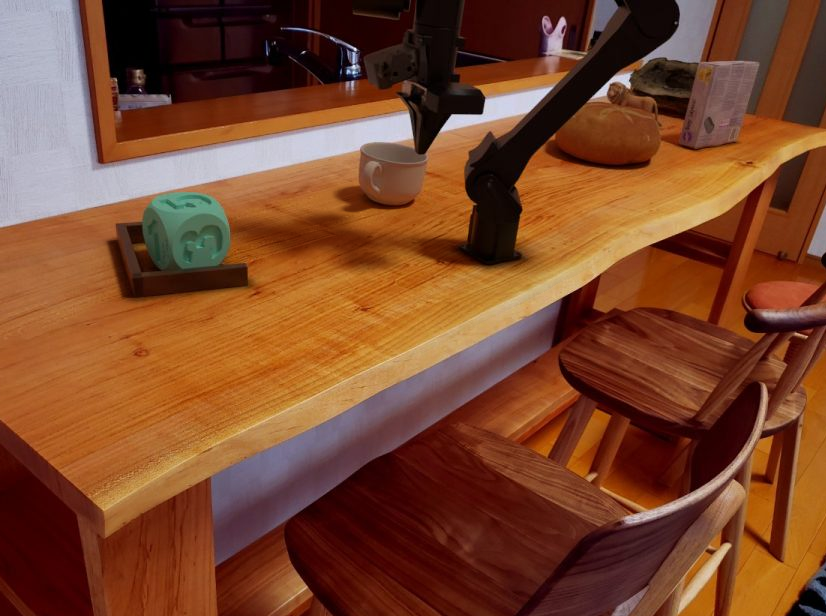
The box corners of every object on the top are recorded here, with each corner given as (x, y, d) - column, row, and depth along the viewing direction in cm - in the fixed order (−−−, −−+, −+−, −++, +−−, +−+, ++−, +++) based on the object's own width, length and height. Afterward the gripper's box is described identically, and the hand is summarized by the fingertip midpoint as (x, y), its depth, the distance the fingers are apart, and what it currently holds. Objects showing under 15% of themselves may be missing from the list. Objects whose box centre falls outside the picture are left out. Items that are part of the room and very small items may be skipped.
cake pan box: (721, 136, 178) (744, 57, 169) (740, 141, 175) (765, 61, 166) (675, 145, 168) (697, 61, 158) (694, 150, 164) (718, 65, 155)
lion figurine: (598, 120, 184) (607, 81, 180) (604, 116, 188) (612, 78, 184) (659, 130, 179) (669, 91, 174) (663, 126, 183) (673, 88, 178)
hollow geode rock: (721, 143, 192) (755, 97, 192) (714, 111, 182) (750, 62, 183) (629, 115, 210) (661, 73, 210) (618, 85, 200) (651, 40, 200)
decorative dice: (144, 258, 95) (138, 197, 91) (202, 246, 99) (199, 187, 95) (173, 281, 90) (167, 217, 86) (232, 267, 94) (230, 206, 90)
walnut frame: (217, 233, 104) (216, 216, 103) (248, 285, 90) (247, 266, 89) (117, 241, 99) (115, 223, 98) (134, 297, 85) (131, 277, 84)
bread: (686, 168, 151) (701, 117, 146) (590, 173, 143) (601, 120, 138) (617, 138, 169) (627, 92, 164) (528, 141, 161) (536, 93, 156)
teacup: (385, 184, 128) (389, 137, 124) (437, 201, 122) (442, 152, 118) (330, 201, 118) (331, 151, 114) (383, 220, 113) (386, 168, 109)
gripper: (347, 9, 94) (338, 134, 102) (408, 34, 80) (392, 177, 88) (426, 14, 98) (411, 134, 106) (498, 39, 84) (474, 176, 92)
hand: (420, 153), depth 98 cm, fingers closed
